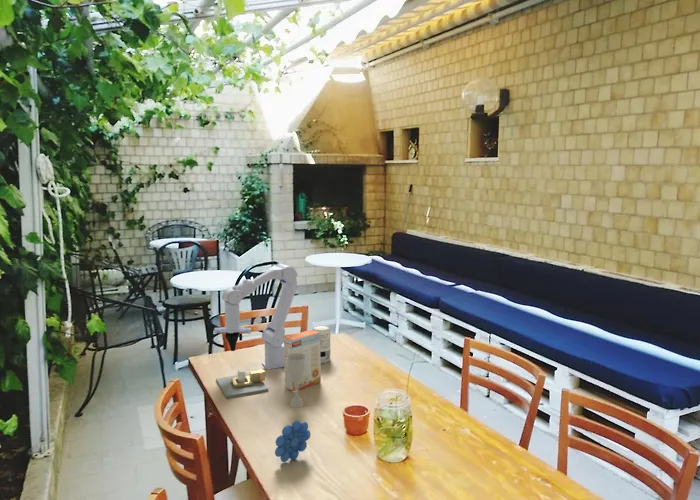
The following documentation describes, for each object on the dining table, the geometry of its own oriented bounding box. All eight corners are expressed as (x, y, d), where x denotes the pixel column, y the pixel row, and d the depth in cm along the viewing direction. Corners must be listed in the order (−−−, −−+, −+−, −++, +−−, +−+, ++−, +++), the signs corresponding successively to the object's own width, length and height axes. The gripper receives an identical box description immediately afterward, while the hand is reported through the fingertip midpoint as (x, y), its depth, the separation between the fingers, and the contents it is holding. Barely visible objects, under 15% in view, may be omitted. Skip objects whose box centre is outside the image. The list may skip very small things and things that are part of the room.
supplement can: (309, 362, 239) (309, 329, 236) (315, 356, 246) (315, 324, 244) (326, 364, 236) (326, 331, 234) (332, 358, 244) (332, 326, 242)
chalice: (302, 409, 193) (302, 360, 191) (284, 407, 195) (283, 359, 192) (308, 400, 201) (308, 353, 198) (290, 398, 202) (290, 352, 199)
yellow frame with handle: (234, 387, 208) (234, 378, 208) (231, 380, 215) (230, 371, 214) (266, 382, 213) (266, 373, 212) (262, 376, 219) (262, 367, 219)
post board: (255, 374, 224) (255, 360, 224) (268, 391, 208) (268, 376, 208) (216, 380, 218) (215, 366, 217) (226, 398, 202) (226, 383, 201)
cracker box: (311, 378, 221) (311, 328, 218) (321, 382, 217) (321, 332, 214) (283, 387, 212) (283, 335, 209) (292, 392, 208) (292, 339, 204)
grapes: (303, 447, 167) (302, 410, 166) (314, 457, 162) (314, 419, 160) (268, 458, 161) (268, 420, 159) (279, 469, 155) (278, 430, 154)
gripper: (212, 320, 217) (213, 353, 219) (248, 321, 217) (249, 353, 219) (216, 315, 224) (217, 347, 226) (251, 316, 224) (252, 347, 226)
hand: (233, 350), depth 223 cm, fingers closed
